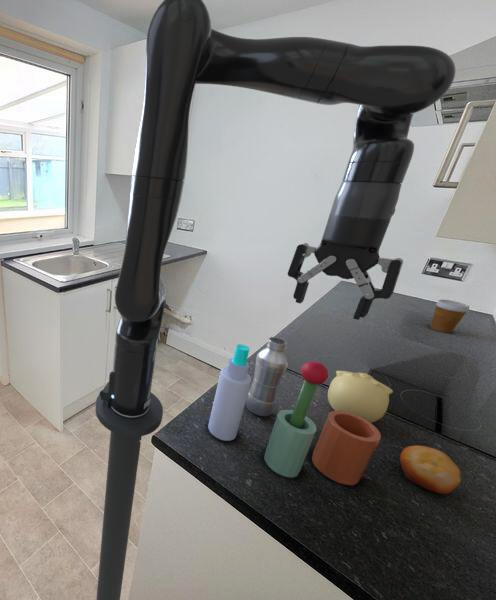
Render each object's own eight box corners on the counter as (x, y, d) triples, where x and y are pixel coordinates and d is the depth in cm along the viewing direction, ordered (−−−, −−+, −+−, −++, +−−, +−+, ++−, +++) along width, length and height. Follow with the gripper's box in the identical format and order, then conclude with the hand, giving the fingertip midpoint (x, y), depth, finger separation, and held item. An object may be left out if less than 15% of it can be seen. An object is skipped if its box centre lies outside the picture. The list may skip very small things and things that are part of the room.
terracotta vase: (315, 475, 61) (334, 432, 57) (308, 445, 68) (324, 405, 64) (365, 492, 58) (388, 447, 54) (352, 459, 65) (371, 418, 61)
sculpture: (380, 412, 80) (397, 377, 76) (377, 437, 71) (396, 399, 68) (327, 391, 87) (340, 358, 83) (319, 412, 79) (333, 376, 75)
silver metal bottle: (271, 423, 74) (295, 351, 67) (241, 412, 77) (260, 341, 70) (273, 408, 79) (295, 339, 72) (244, 398, 82) (263, 331, 75)
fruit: (451, 471, 62) (470, 457, 57) (443, 507, 59) (462, 496, 54) (397, 446, 67) (410, 431, 62) (387, 479, 64) (399, 466, 59)
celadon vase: (265, 469, 62) (279, 426, 58) (263, 446, 67) (276, 405, 63) (302, 482, 60) (319, 438, 56) (297, 457, 65) (313, 416, 61)
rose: (272, 463, 62) (306, 365, 54) (271, 449, 66) (302, 355, 57) (295, 471, 61) (334, 372, 52) (292, 456, 64) (328, 360, 56)
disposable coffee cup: (423, 322, 138) (435, 297, 133) (453, 329, 132) (467, 303, 128) (427, 329, 131) (440, 303, 126) (459, 337, 125) (474, 309, 121)
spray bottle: (226, 446, 67) (249, 358, 59) (202, 428, 71) (221, 344, 63) (241, 434, 70) (265, 350, 62) (217, 418, 75) (237, 337, 67)
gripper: (300, 209, 51) (275, 301, 57) (421, 220, 41) (374, 330, 47) (314, 208, 55) (289, 293, 61) (425, 218, 46) (383, 318, 51)
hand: (326, 309), depth 54 cm, fingers open, 8 cm apart
